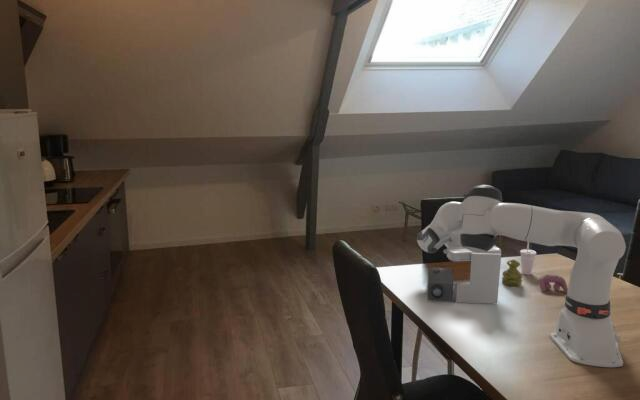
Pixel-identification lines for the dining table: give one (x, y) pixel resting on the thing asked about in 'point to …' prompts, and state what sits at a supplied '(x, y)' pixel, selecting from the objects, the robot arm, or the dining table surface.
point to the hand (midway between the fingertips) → (483, 260)
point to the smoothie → (527, 260)
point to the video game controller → (555, 279)
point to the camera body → (440, 284)
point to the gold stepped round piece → (512, 275)
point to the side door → (480, 280)
